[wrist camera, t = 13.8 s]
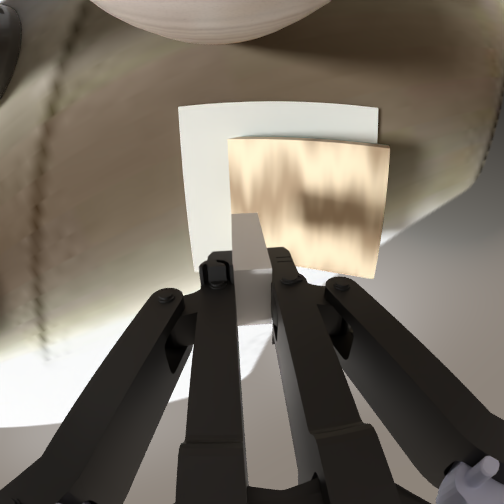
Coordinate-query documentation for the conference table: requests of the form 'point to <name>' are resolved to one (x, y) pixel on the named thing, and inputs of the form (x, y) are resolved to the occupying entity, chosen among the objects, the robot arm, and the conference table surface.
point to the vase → (210, 17)
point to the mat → (248, 124)
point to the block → (314, 197)
